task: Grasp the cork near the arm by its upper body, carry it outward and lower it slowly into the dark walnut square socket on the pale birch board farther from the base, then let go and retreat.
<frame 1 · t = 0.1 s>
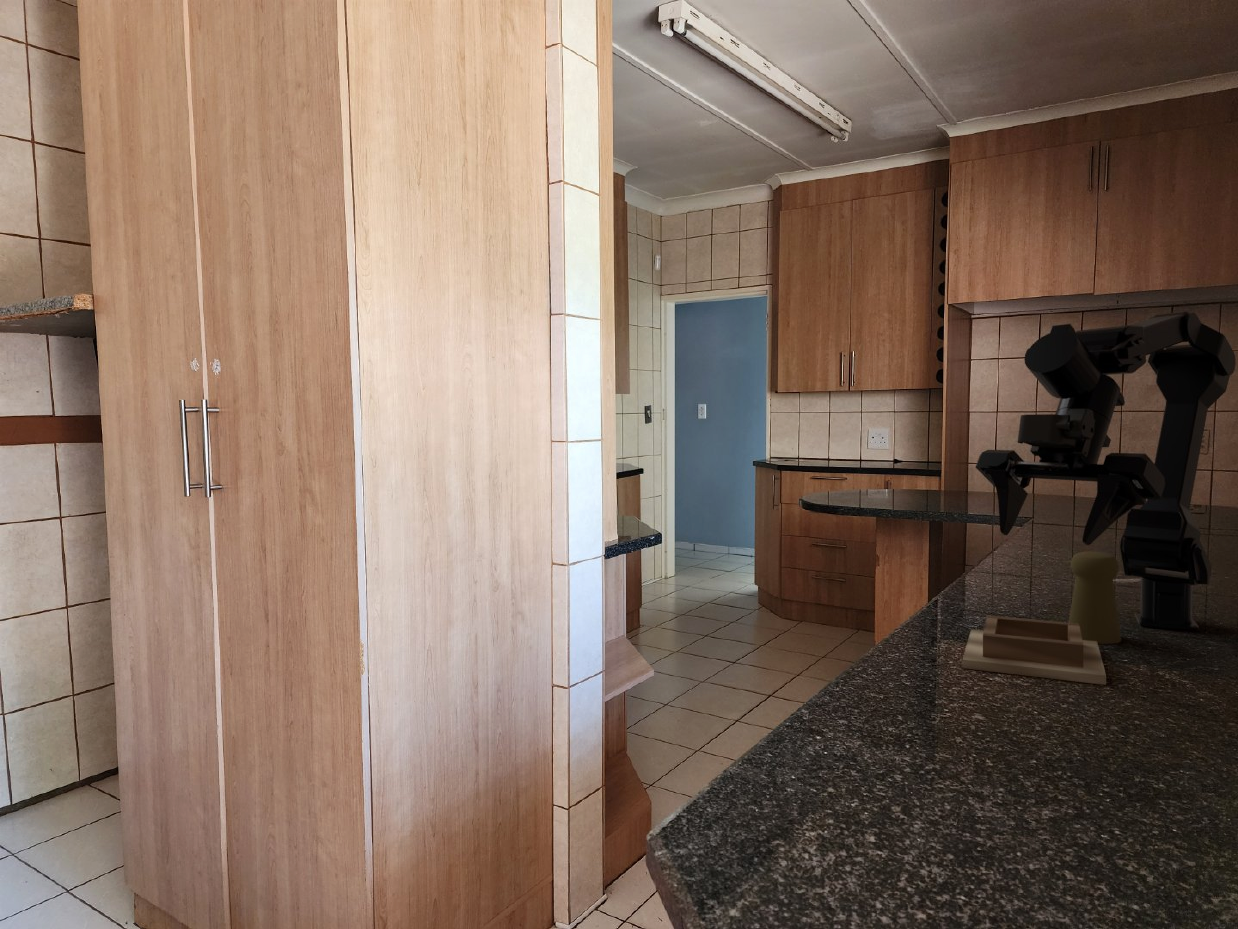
hand: (1042, 538, 88), 15 cm above the countertop, tool tilted 30°, fingers open, 9 cm apart
socket board: (1031, 658, 93), on the countertop
cork: (1093, 638, 101), on the countertop
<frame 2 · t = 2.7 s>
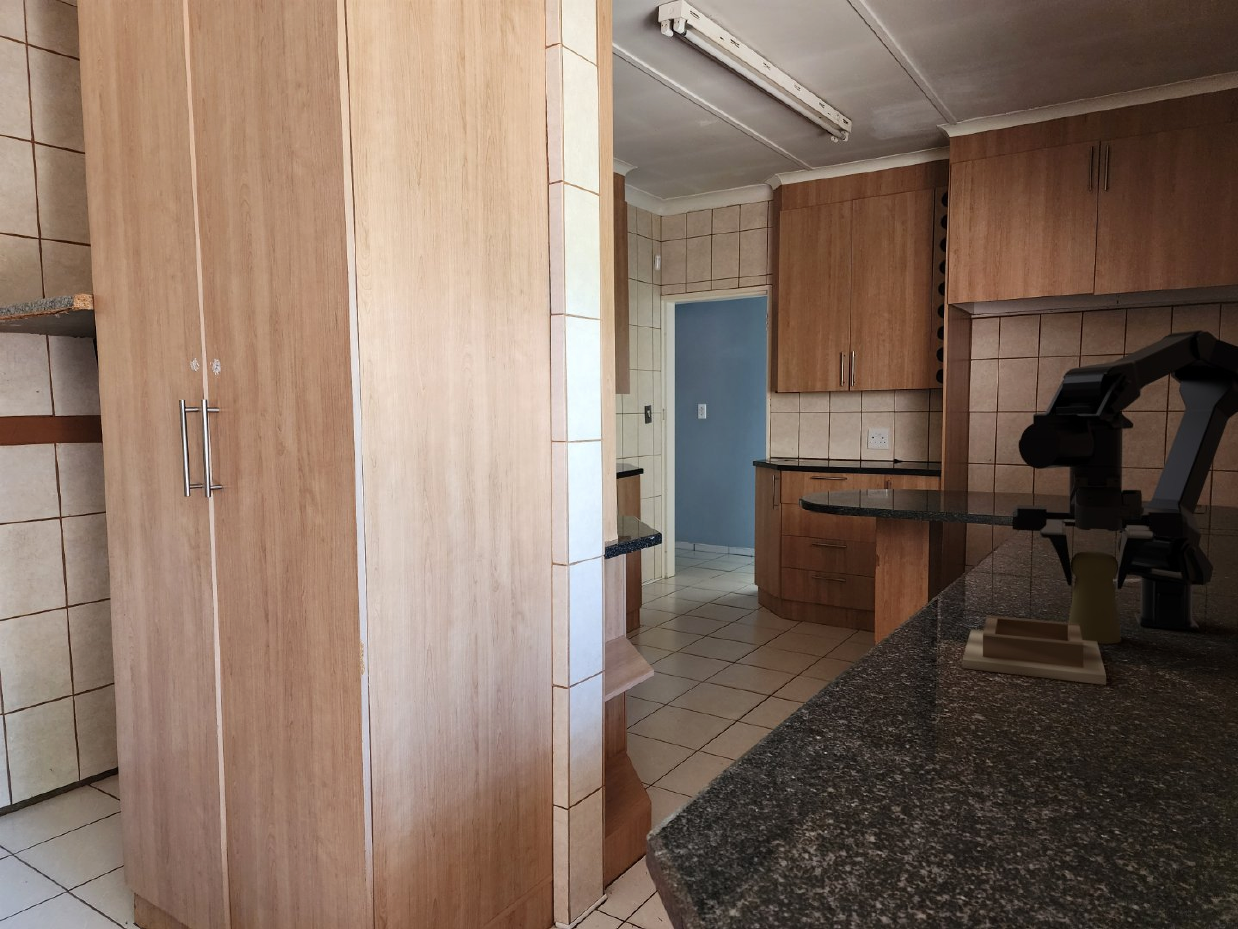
hand: (1094, 586, 100), 7 cm above the countertop, tool pointing down, fingers closed on cork, 5 cm apart
cork: (1093, 638, 101), on the countertop, touching gripper
when the fingers open (8 cm above the countertop, at t = 7.2 s): cork stays where it is, resting on socket board.
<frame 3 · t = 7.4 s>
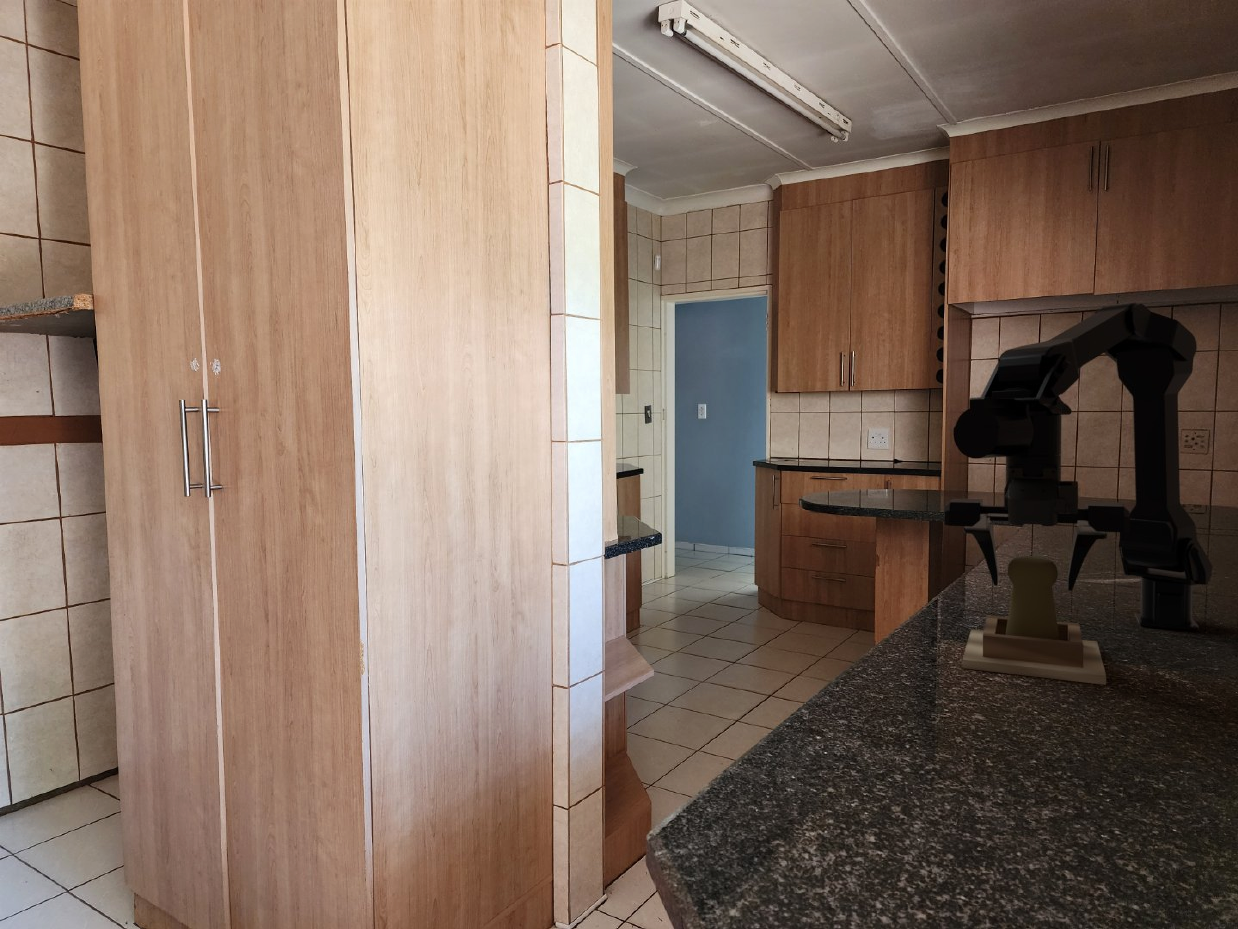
hand: (1032, 587, 92), 8 cm above the countertop, tool pointing down, fingers open, 7 cm apart
cork: (1032, 651, 93), point 1 cm above the countertop, touching socket board
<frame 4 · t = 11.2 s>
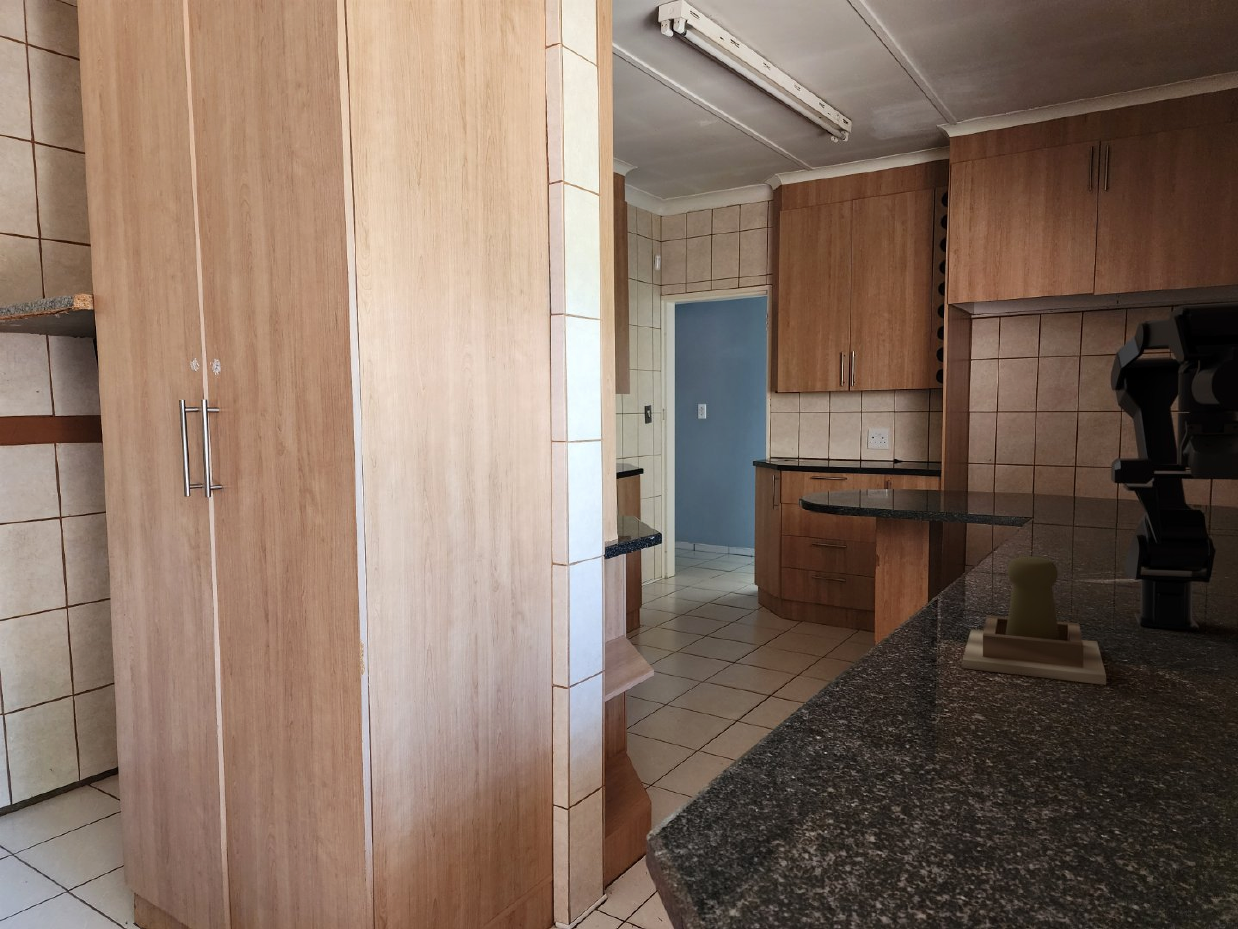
hand: (1205, 544, 92), 13 cm above the countertop, tool pointing down, fingers open, 9 cm apart
nothing on the countertop moved.
at the end: cork 0.1 cm off-centre on the socket board, point 0.8 cm above the socket board's base; cork tilted 0°; the gripper is holding nothing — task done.
